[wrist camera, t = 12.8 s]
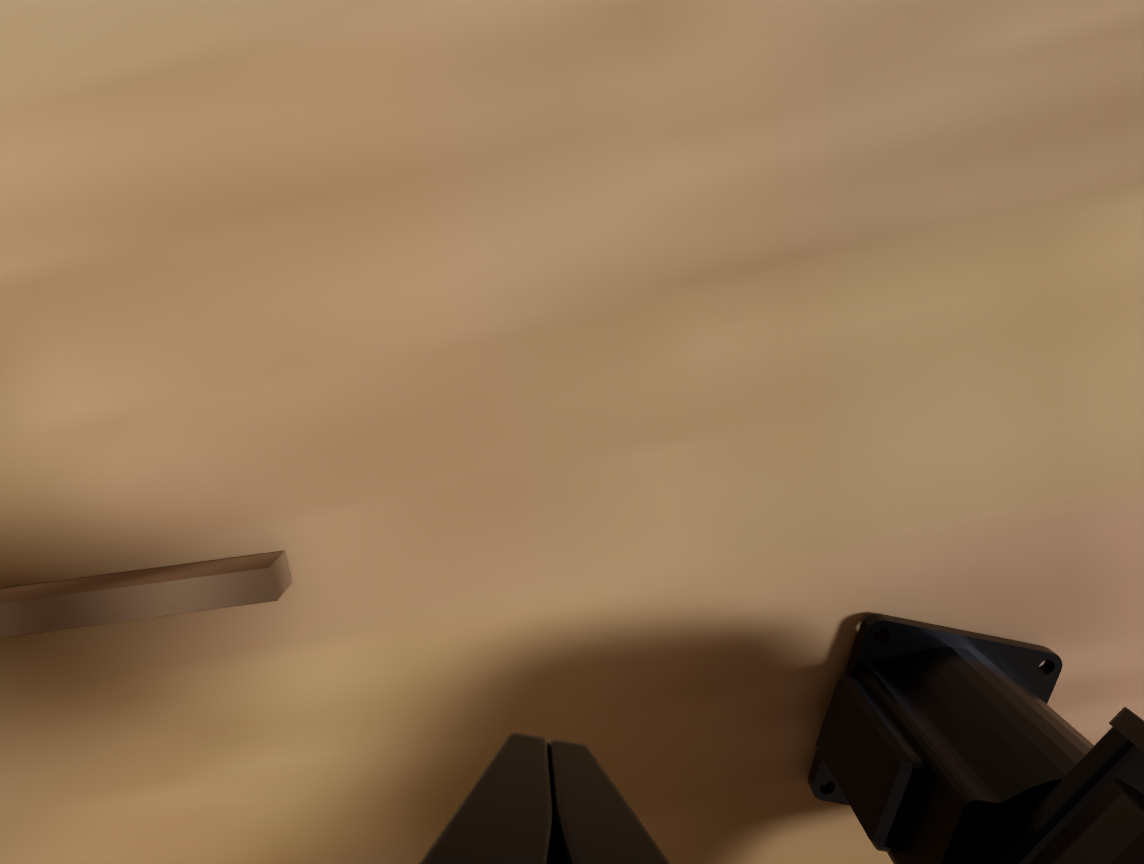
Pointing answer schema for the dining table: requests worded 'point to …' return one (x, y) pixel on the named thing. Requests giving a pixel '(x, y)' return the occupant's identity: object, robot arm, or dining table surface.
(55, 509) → the dining table surface
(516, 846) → the robot arm
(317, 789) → the dining table surface
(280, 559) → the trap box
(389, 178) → the dining table surface
